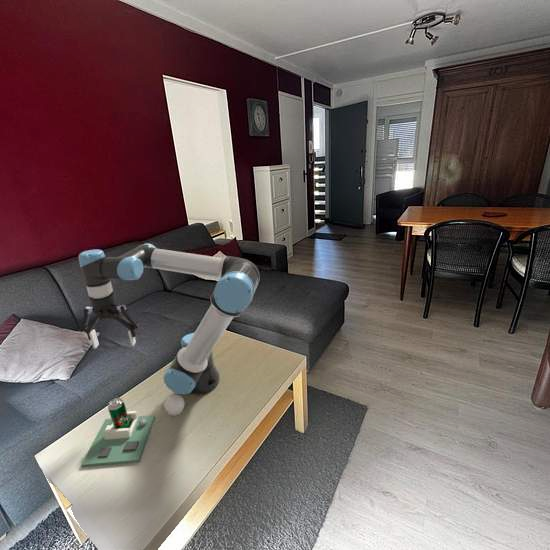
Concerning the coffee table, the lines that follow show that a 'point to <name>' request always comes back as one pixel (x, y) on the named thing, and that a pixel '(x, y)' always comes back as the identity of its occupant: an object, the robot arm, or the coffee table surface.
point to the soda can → (118, 413)
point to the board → (120, 442)
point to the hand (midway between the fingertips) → (115, 345)
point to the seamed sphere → (174, 405)
